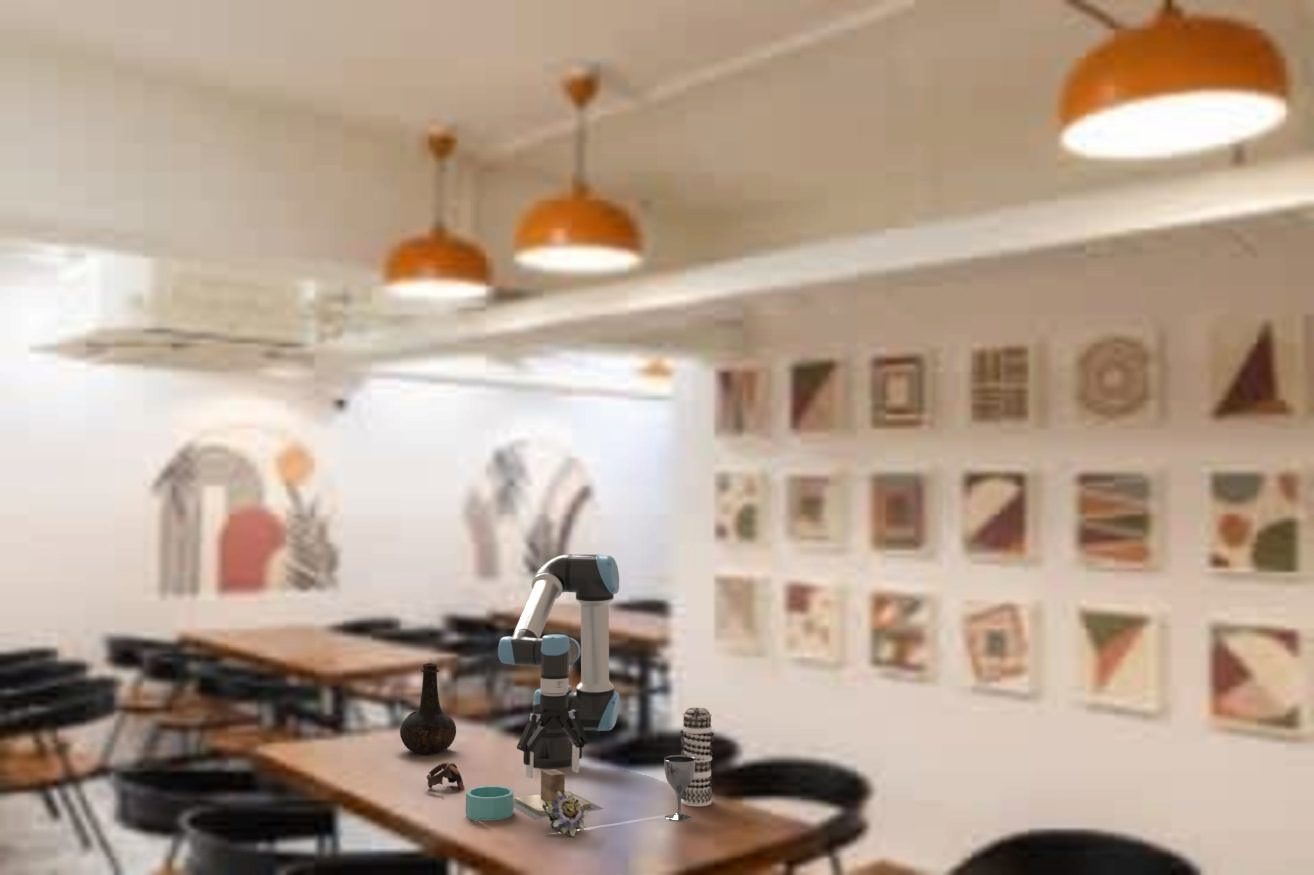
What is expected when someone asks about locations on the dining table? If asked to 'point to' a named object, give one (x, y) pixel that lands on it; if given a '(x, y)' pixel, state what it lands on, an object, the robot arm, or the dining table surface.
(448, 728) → the glass bottle
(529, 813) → the mat
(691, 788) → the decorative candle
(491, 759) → the dining table surface
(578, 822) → the passion flower
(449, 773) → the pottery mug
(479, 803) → the bowl
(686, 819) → the wine glass
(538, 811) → the lid
